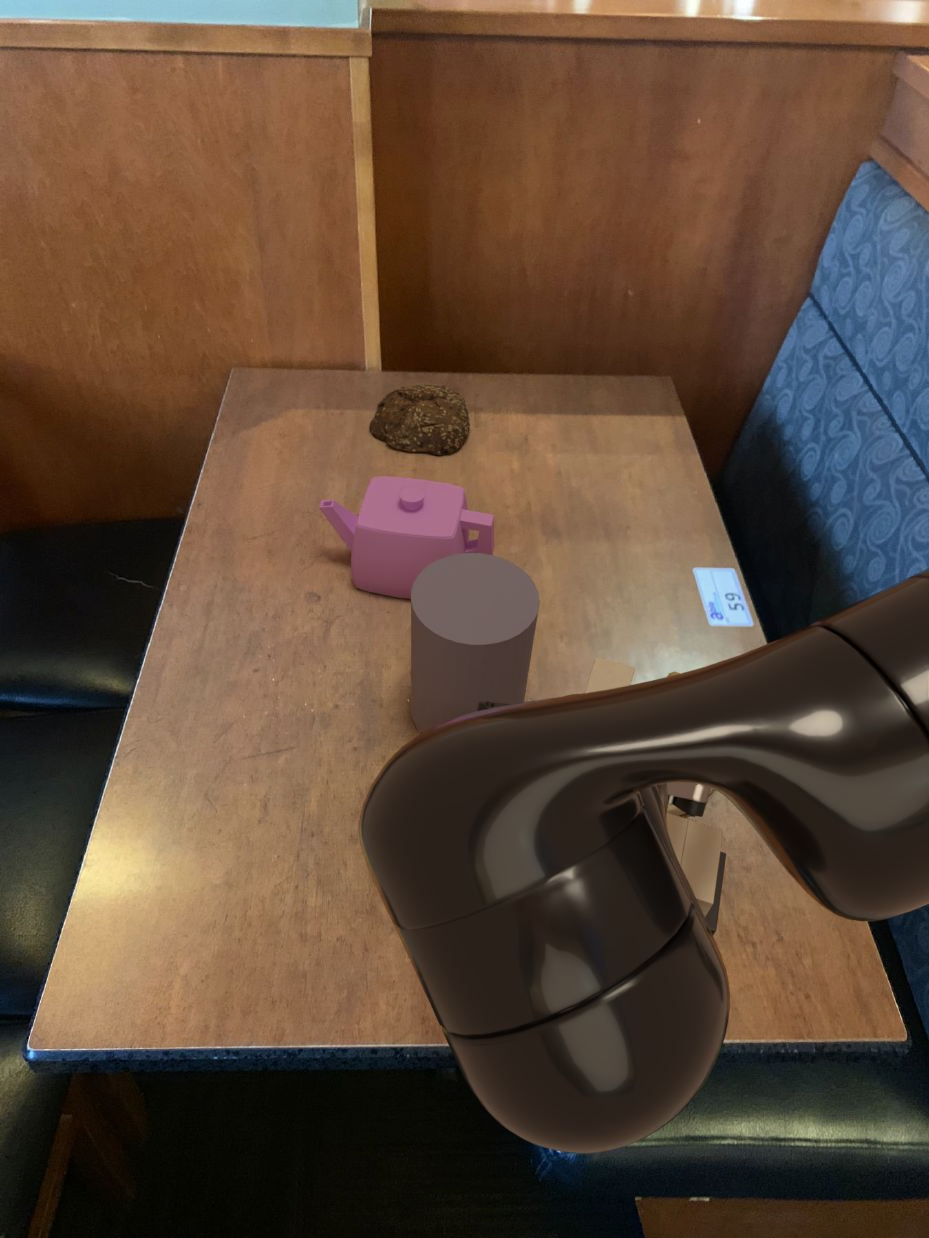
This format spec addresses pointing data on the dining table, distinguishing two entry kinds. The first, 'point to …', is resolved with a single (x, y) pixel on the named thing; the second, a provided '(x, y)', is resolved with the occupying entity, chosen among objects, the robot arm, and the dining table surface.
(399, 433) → the bread roll
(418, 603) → the grey upright cylinder
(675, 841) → the book rack
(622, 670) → the cream book
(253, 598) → the dining table surface
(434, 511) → the teapot
